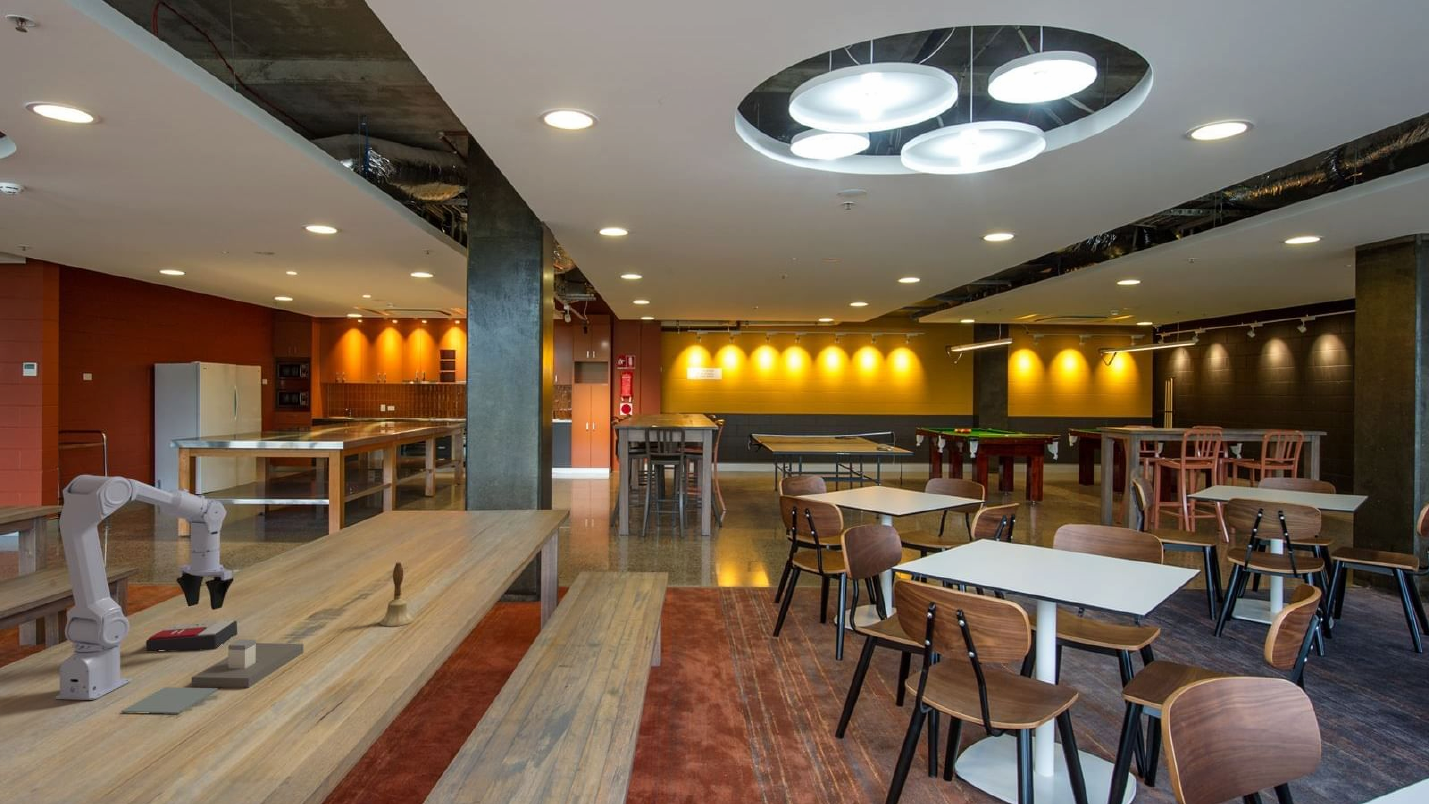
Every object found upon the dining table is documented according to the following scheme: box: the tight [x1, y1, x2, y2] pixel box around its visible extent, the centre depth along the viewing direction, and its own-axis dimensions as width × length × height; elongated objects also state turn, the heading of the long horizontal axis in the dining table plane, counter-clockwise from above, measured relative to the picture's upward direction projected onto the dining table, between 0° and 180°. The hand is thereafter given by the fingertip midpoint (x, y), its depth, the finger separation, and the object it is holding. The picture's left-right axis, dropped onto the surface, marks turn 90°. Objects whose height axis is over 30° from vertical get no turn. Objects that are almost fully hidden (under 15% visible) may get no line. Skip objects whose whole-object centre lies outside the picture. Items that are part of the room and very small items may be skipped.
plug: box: [227, 638, 257, 669], centre depth 159 cm, size 4×4×7 cm
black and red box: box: [145, 619, 238, 652], centre depth 177 cm, size 11×4×15 cm
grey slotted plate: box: [191, 642, 304, 689], centre depth 162 cm, size 20×12×2 cm, turn 0°
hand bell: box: [379, 561, 414, 628], centre depth 195 cm, size 8×8×16 cm
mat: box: [120, 686, 219, 715], centre depth 145 cm, size 11×11×1 cm
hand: (204, 606), depth 173 cm, fingers open, 7 cm apart
